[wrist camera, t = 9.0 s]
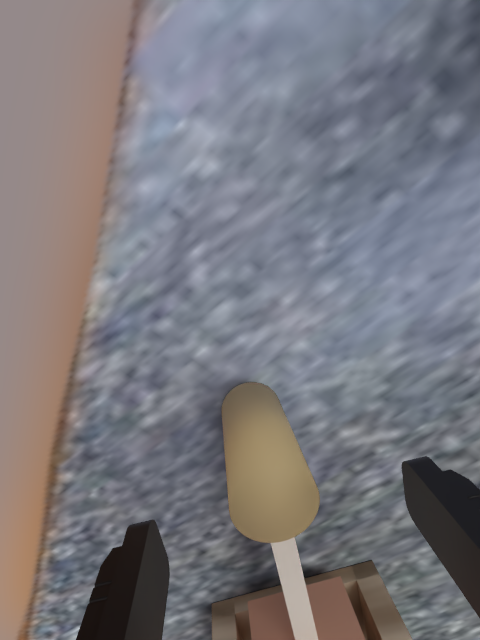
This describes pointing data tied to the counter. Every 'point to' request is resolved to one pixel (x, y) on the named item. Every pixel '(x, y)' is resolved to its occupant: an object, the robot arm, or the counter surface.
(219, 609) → the shelf
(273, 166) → the counter surface
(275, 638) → the pull block
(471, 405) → the counter surface
